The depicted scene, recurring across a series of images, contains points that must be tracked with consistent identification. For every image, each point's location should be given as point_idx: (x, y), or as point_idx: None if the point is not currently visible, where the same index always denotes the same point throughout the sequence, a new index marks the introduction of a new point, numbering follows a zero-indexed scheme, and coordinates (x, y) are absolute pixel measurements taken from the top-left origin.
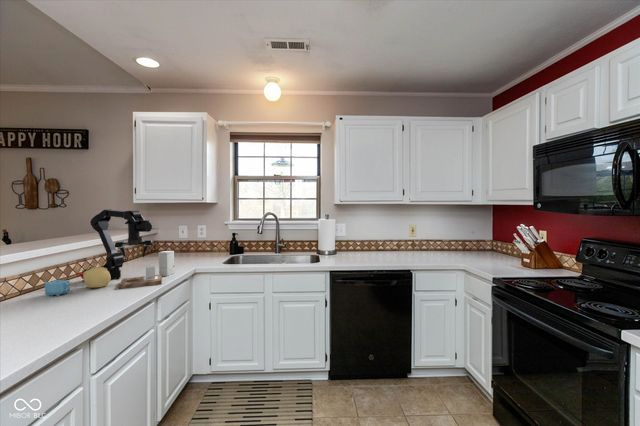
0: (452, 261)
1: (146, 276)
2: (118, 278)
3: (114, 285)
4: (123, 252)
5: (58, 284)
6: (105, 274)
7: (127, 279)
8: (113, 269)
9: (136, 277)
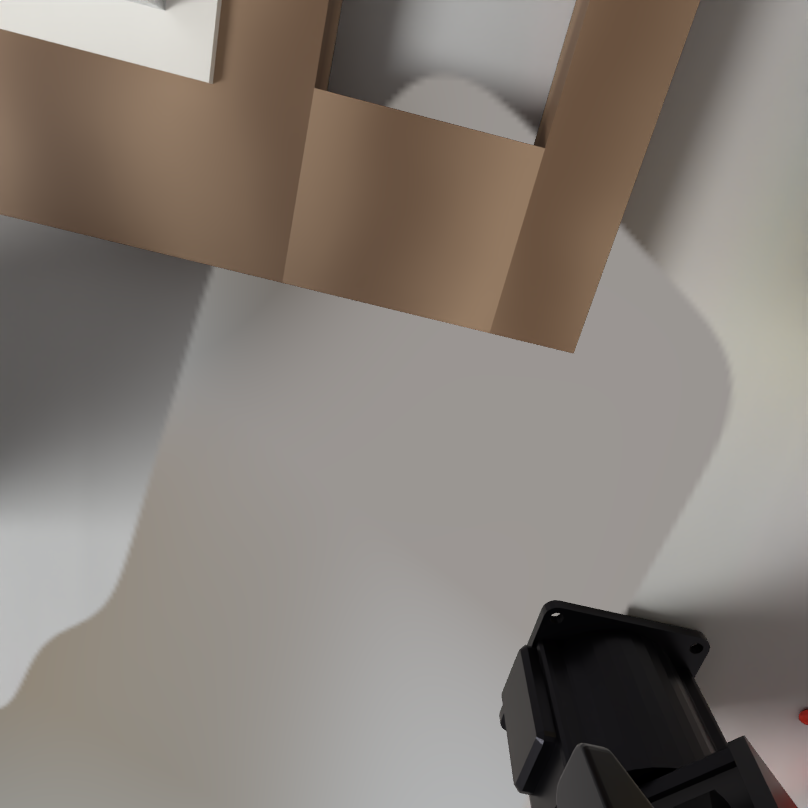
0: None
1: None
2: (555, 605)
3: (740, 154)
4: None
5: None
6: None
7: (520, 205)
8: (667, 762)
9: (341, 278)
